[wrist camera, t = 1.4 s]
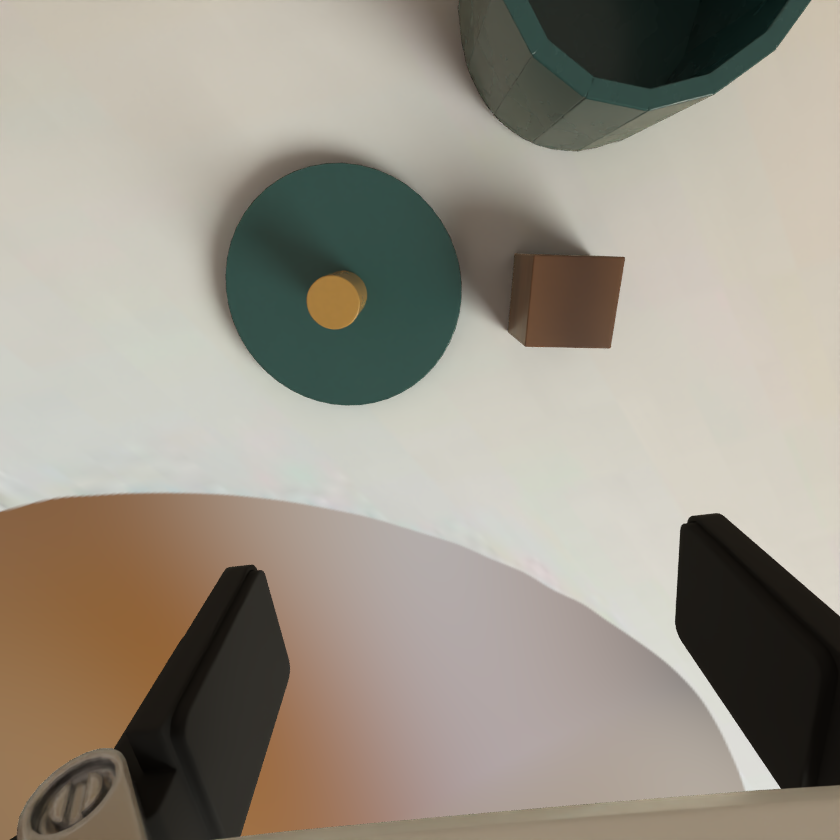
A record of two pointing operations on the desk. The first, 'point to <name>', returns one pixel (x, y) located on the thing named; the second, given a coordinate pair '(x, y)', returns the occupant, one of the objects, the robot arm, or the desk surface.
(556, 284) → the block
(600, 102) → the tin
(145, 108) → the desk surface
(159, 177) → the desk surface
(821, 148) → the desk surface
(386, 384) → the lid
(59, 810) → the robot arm
